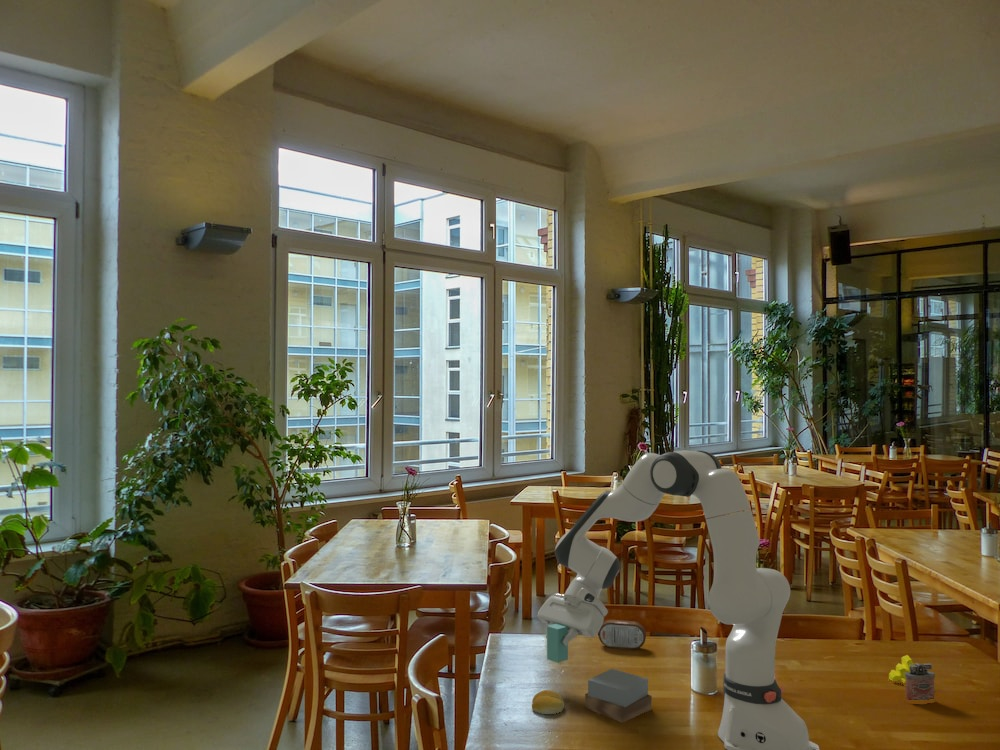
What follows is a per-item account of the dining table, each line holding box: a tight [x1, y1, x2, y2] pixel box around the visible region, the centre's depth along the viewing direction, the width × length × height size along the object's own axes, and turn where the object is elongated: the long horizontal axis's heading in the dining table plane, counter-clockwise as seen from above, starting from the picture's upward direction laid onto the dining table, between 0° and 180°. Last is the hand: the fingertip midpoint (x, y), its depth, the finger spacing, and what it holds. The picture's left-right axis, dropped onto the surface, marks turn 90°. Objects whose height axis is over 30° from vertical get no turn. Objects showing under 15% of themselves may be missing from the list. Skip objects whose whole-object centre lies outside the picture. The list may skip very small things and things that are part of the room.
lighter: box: [905, 662, 936, 700], centre depth 205 cm, size 8×3×10 cm, turn 99°
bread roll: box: [531, 689, 565, 715], centre depth 199 cm, size 8×9×4 cm
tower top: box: [587, 668, 649, 707], centre depth 199 cm, size 11×11×4 cm
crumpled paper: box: [888, 654, 916, 683], centre depth 220 cm, size 6×8×8 cm
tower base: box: [584, 692, 653, 724], centre depth 199 cm, size 12×12×4 cm
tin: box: [597, 619, 647, 650], centre depth 246 cm, size 15×3×8 cm, turn 80°
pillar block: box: [546, 623, 569, 664], centre depth 212 cm, size 4×4×9 cm
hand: (555, 641), depth 212 cm, fingers closed on pillar block, 4 cm apart
